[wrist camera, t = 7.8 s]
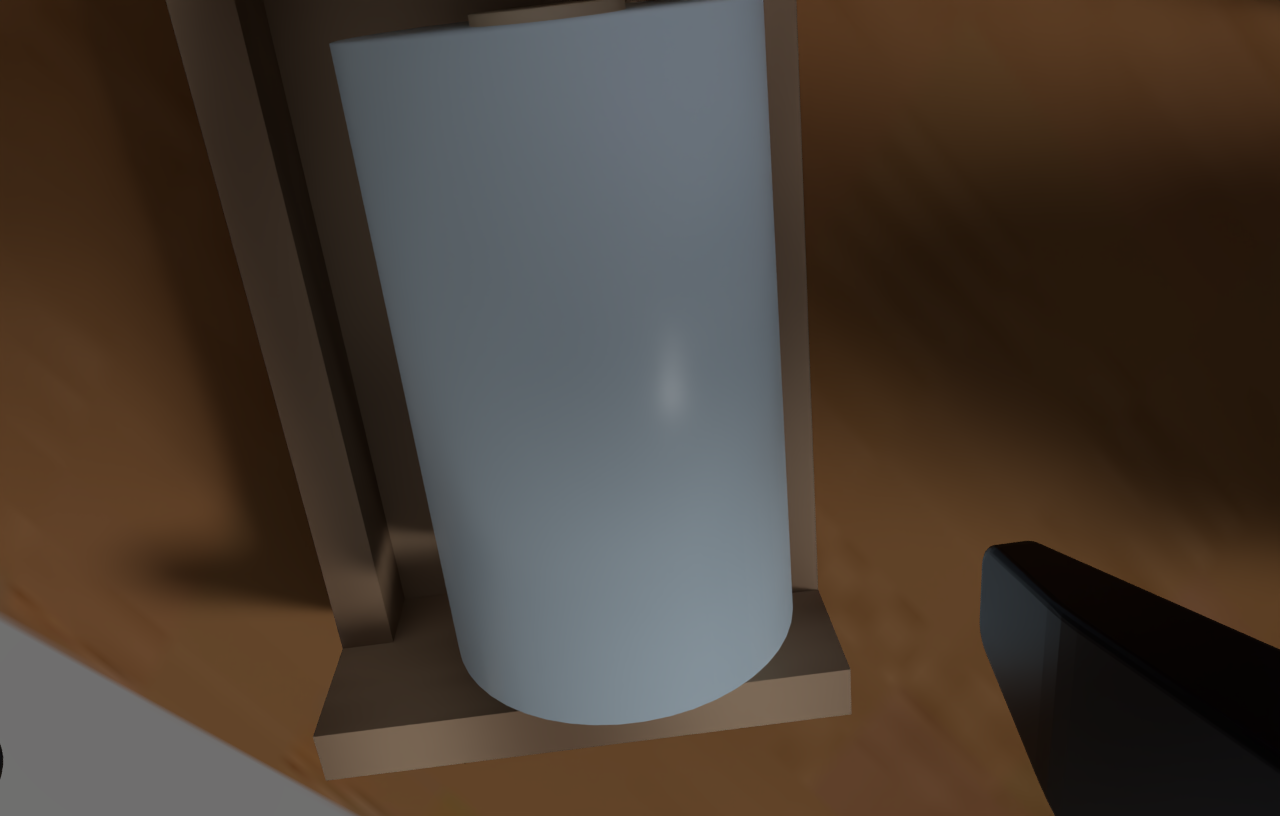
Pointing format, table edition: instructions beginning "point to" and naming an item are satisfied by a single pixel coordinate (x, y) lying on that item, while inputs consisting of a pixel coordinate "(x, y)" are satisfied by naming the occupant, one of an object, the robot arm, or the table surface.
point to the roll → (587, 340)
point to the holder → (376, 406)
